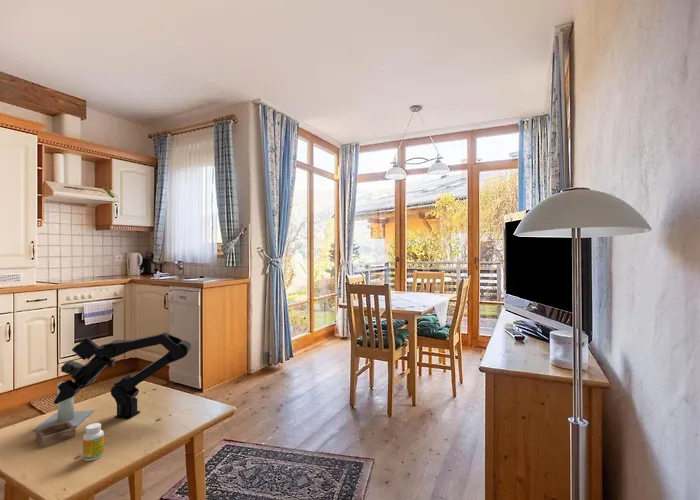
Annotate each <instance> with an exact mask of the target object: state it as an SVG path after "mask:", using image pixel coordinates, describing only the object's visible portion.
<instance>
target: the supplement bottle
mask: <svg viewBox="0 0 700 500" xmlns="http://www.w3.org/2000/svg"><path fill="white" fill-rule="evenodd" d="M104 433H105V432H104V430H103V429H102V424H101V423H100V422H95V423H91V424H88V425H87V426H86V427H85V433H84V434H83V437H82V460H84V461H85V462H91V461H95V460H98V459H100V458H102V457H103V455H104V454H105V453H104V449H105V448H104V447H105V446H104V445H105V444H104V441H105V439H104V438H105V437H104V436H105V434H104Z"/></svg>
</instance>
